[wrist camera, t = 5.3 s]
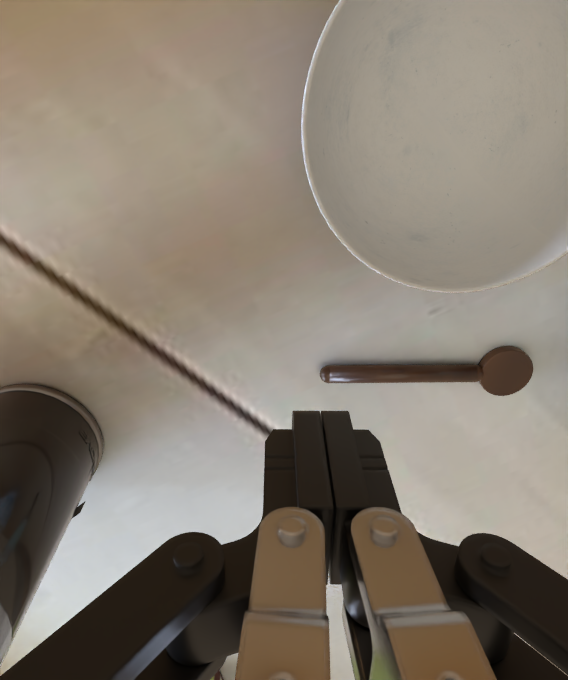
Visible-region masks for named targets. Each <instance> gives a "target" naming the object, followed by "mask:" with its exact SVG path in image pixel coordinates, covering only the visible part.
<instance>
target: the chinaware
mask: <svg viewBox="0 0 568 680" xmlns="http://www.w3.org/2000/svg"><path fill="white" fill-rule="evenodd" d="M301 136H302V149H303V157H304V163H305V168H306V173H307V177H308V180H309V184H310V187H311V190H312V193H313V195H314V198H315V200H316V203H317V205H318V207H319V209H320V211H321V213H322V215H323V217H324V219H325V220H326V222H327V224H328V225H329V227H330V228H331V230H332V231H333V233H334V234H335V235H336V237H337V238H338V239H339V240H340V241H341V243H342V244H343V245H344V246H345V247H346V248H347V249H348V250H349V251H350V252H351V253H352V254H353V255H354V256H355V257H356V258H357V259H359V260H360V261H361V262H362V263H364V264H365V265H366V266H368V267H369V268H371V269H372V270H374V271H375V272H377V273H379V274H381V275H382V276H384V277H386V278H388V279H390V280H393V281H395V282H397V283H400V284H403V285H406V286H409V287H413V288H416V289H421V290H426V291H432V292H442V293H464V292H474V291H481V290H487V289H491V288H496V287H499V286H503V285H506V284H509V283H512V282H515V281H518V280H520V279H523V278H525V277H527V276H529V275H532V274H534V273H536V272H538V271H540V270H542V269H543V268H545V267H547V266H549V265H550V264H552V263H554V262H555V261H557V260H558V259H560V258H561V257H563V256H564V255H565V254H567V253H568V0H339V2H338V4H337V5H336V7H335V8H334V10H333V12H332V14H331V16H330V17H329V19H328V21H327V23H326V25H325V27H324V30H323V32H322V34H321V36H320V39H319V41H318V44H317V46H316V49H315V52H314V55H313V58H312V61H311V64H310V68H309V72H308V76H307V80H306V85H305V91H304V97H303V105H302V119H301Z"/></svg>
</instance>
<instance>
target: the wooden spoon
mask: <svg viewBox="0 0 568 680" xmlns="http://www.w3.org/2000/svg"><path fill="white" fill-rule="evenodd" d="M532 373H533V364H532V361H531V359H530V358H529V356H528V355H527V354H526V353H525V352H524V351H522V350H521V349H519V348H517V347H513V346H503V347H499V348H496V349H494V350H492V351H490V352H489V353H487V354H486V355H485V356H484V357H483V359H482V360H481V361H480V363H479V365H474V364H472V365H329V366H325V367H323V368H322V369H321V371H320V377H321V379H322V380H323V381H324V382H326V383H409V382H478V381H479V382H480V384H481V385H482V386H483V388H484V389H485V390H486V391H487V392H489V393H491V394H494V395H498V396H505V395H510V394H513V393H515V392H517V391H519V390H521V389H522V388H523V387H524V386H525V385H526V384H527V383H528V382H529V380H530V378H531V376H532Z"/></svg>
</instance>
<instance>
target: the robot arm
mask: <svg viewBox="0 0 568 680" xmlns="http://www.w3.org/2000/svg"><path fill="white" fill-rule="evenodd" d="M102 454H103V439H102V435H101V432H100V429H99V427H98V425H97V423H96V422H95V420H94V419H93V417H92V416H91V415H90V413H89V412H88V411H87V410H86V409H85V408H84V407H83V406H82V405H80V404H79V403H78V402H77V401H75V400H74V399H72V398H71V397H69V396H67V395H65V394H63V393H61V392H59V391H57V390H54V389H51V388H48V387H44V386H39V385H32V384H16V385H9V386H5V387H2V388H0V667H1V665H2V663H3V661H4V658H5V656H6V654H7V652H8V650H9V648H10V646H11V644H12V641H13V639H14V637H15V635H16V633H17V631H18V629H19V627H20V625H21V623H22V621H23V618H24V616H25V614H26V612H27V610H28V608H29V606H30V604H31V602H32V600H33V598H34V596H35V593H36V591H37V589H38V587H39V585H40V583H41V581H42V579H43V577H44V575H45V573H46V571H47V568H48V566H49V564H50V562H51V560H52V558H53V556H54V554H55V552H56V550H57V548H58V546H59V543H60V541H61V539H62V537H63V535H64V533H65V531H66V529H67V527H68V525H69V523H70V521H71V519H72V518H73V517H75V516H76V515H77V514H79V513H80V512H81V509H82V507H83V505H84V503H85V502H84V503H82V504H81V505H80V506H78V504H79V502H80V500H81V498H82V496H83V494H84V491H85V489H86V487H87V485H88V483H89V481H90V480H91V478H92V476H93V474H94V473H95V471H96V470H97V468H98V465H99V463H100V461H101V458H102ZM77 506H78V507H77ZM328 570H329V578H330V584H342V591H343V598H344V599H343V609H342V619H343V624H344V629H345V634H346V639H347V643H348V648H349V653H350V658H351V663H352V667H353V672H354V677H355V680H568V676H567V675H568V580H567V579H566V578H564V577H563V576H561V575H560V574H558V573H557V572H555V571H554V570H552V569H551V568H549V567H548V566H546V565H545V564H543V563H542V562H540V561H539V560H537V559H536V558H534V557H533V556H531V555H530V554H528V553H527V552H525V551H524V550H522V549H521V548H519V547H518V546H516V545H515V544H513V543H512V542H510V541H508V540H506V539H504V538H502V537H499V536H496V535H492V534H486V533H478V534H473V535H470V536H468V537H466V538H465V539H464V540H463V541H462V542H461V544H460V546H459V547H458V546H455V545H451V544H447V543H443V542H439V541H436V540H433V539H430V538H428V537H425V536H423V535H422V534H420V533H418V532H417V531H416V529H415V527H414V525H413V524H412V522H411V521H410V520H409V519H408V518H407V517H406V516H404V515H403V514H402V513H401V510H400V507H399V503H398V500H397V497H396V493H395V490H394V487H393V484H392V480H391V477H390V474H389V470H388V469H387V464H386V461H385V458H384V454H383V451H382V448H381V444H380V442H379V441H378V439H377V438H376V437H375V436H374V435H373V434H372V433H371V432H370V431H369V430H353V427H352V423H351V419H350V415H349V412H348V411H321V415H320V411H293V414H292V430H288V429H273V431H272V432H271V434H270V435H269V437H268V438H267V440H266V441H265V468H264V503H263V517H262V520H261V522H260V524H259V525H258V527H257V528H256V529H255V530H254V531H253V532H252V533H251V534H249V535H248V536H246V537H244V538H242V539H240V540H237V541H234V542H230V543H227V544H223V545H221V544H220V543H219V542H218V541H217V540H216V539H215V538H213V537H212V536H210V535H207V534H204V533H199V532H189V533H183V534H180V535H177V536H175V537H173V538H171V539H169V540H168V541H166V542H165V543H164V544H163V545H161V546H160V547H159V548H158V549H156V550H155V551H154V552H153V553H151V554H150V555H149V556H148V557H147V558H145V559H144V560H143V561H142V562H140V563H139V564H138V565H137V566H135V567H134V568H133V569H132V570H131V571H129V572H128V573H127V574H126V575H124V576H123V577H122V578H121V579H119V580H118V581H117V582H116V583H115V584H113V585H112V586H111V587H110V588H108V589H107V590H106V591H105V592H103V593H102V594H101V595H100V596H99V597H97V598H96V599H95V600H94V601H92V602H91V603H90V604H89V605H87V606H86V607H85V608H84V609H83V610H81V611H80V612H79V613H78V614H76V615H75V616H74V617H73V618H71V619H70V620H69V621H68V622H67V623H65V624H64V625H63V626H62V627H60V628H59V629H58V630H57V631H55V632H54V633H53V634H52V635H51V636H49V637H48V638H47V639H46V640H44V641H43V642H42V643H41V644H39V645H38V646H37V647H36V648H34V649H33V650H32V651H31V652H30V653H28V654H27V655H26V656H25V657H23V658H22V659H21V660H20V661H18V662H17V663H16V664H15V665H14V666H12V667H11V668H10V669H9V670H7V671H6V672H5V673H4V674H2V675H1V676H0V680H211V679H212V677H213V676H214V675H215V674H216V673H217V672H218V670H219V669H220V668H221V667H222V665H223V664H224V662H225V660H226V658H227V656H229V655H232V654H235V653H238V652H239V653H238V660H237V667H236V675H235V680H330V647H329V619H328V616H327V614H326V585H327V582H328ZM514 633H516V634H517V635H518V636H519V637H521V638H522V639H523V640H524V641H526V642H527V643H528V644H530V645H531V646H532V647H533V648H535V649H536V650H537V651H538V652H540V653H541V654H542V655H543V656H545V657H546V658H547V659H548V660H550V661H551V662H552V663H554V664H555V665H556V666H558V668H560V669H561V670H562V671H564V672H565V673H566V674H567V675H565V674H564V673H563V672H562V671H560V670H559V669H558V668H557V667H555V666H554V665H553V664H551V663H550V662H549V661H548V660H547V659H545V658H544V657H543V656H541V655H540V654H539V653H538V652H537V651H535V650H534V649H533V648H532V647H530V646H529V645H528V644H527V643H525V642H524V641H523V640H522V639H520V638H519V637H518V636H517V635H515V634H514Z"/></svg>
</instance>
